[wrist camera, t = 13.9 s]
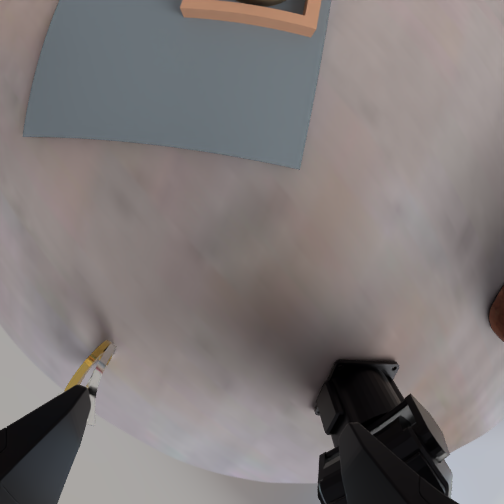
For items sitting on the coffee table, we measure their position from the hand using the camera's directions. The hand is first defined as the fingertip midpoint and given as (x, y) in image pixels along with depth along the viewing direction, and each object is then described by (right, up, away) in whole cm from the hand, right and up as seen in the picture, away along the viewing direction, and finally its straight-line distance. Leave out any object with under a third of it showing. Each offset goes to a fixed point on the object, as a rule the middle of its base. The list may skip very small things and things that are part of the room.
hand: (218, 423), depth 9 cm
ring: (-11, -3, +14) cm, 18 cm away
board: (-4, +21, +7) cm, 23 cm away
